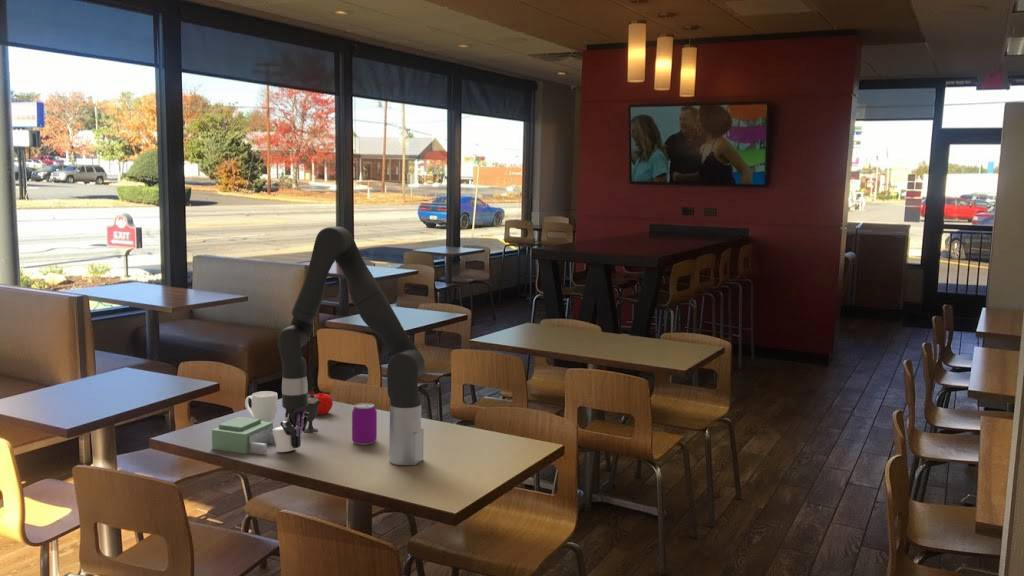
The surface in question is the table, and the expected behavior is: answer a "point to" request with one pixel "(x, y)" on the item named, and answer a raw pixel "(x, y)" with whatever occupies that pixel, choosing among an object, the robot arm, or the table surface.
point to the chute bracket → (260, 441)
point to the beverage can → (364, 424)
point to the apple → (324, 403)
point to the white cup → (282, 440)
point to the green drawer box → (237, 434)
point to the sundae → (312, 411)
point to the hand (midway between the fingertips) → (296, 447)
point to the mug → (263, 405)
